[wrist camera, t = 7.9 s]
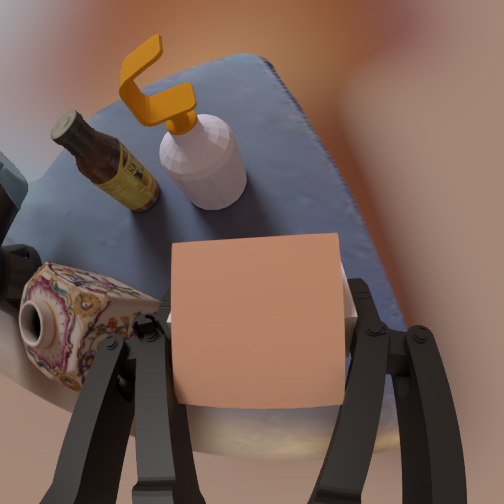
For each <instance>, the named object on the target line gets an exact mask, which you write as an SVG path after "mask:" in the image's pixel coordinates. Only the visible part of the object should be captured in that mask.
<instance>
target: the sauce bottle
mask: <svg viewBox="0 0 504 504" xmlns="http://www.w3.org/2000/svg"><path fill="white" fill-rule="evenodd" d="M51 138H52V140H53V141H55V142H56V143H57V144H59V145H62V146H63V147H64V148H66V149H67V150H68V151H69V152H70V153H71V154H72V155H73V156H75V158H76V165H77V167H78V169H79V171H80V172H81V173H82V174H83V175H84V176H85V177H87V178H89V179H90V180H91V182H92V183H94V184H95V185H96V186H98V187H99V188H100V189H102V190H103V191H105V192H106V193H107V194H109V195H110V196H112V197H113V198H114V199H116V200H117V201H119V202H120V203H121V204H123V205H124V206H126V207H127V208H129V209H132V210H133V211H137V212H142V211H146V210H147V209H149V208H150V207H152V206H153V204H154V203H155V202H156V200H157V198H158V195H159V185H158V183H157V181H156V180H155V178H154V177H153V175H151V173H150V172H149V171H148V170H147V169H146V168H145V167H144V166H143V165H142V164H141V163H140V162H139V161H138V160H137V159H136V158H135V157H134V156H133V155H132V154H131V153H130V152H129V151H128V150H127V149H126V147H125V146H124V145H123V144H122V143H121V142H120V141H119V140H118V139H117V138H114V137H112V136H109V135H106V134H103V133H101V132H98V131H95V129H93V128H91V127H90V126H89V125H88V124H87V123H86V122H85V121H84V120H83V118H82V116H81V114H79V113H78V112H77V111H76V110H70V111H68V112H66V113H65V114H63V115H62V116H61V117H60V118H59V119H58V121H57V122H56V123H55V125H54V127H53V129H52V131H51Z"/></svg>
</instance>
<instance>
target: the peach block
mask: <svg viewBox="0 0 504 504" xmlns="http://www.w3.org/2000/svg"><path fill="white" fill-rule="evenodd" d="M171 337H172V362H173V379H174V391H175V394H176V398H177V401H178V403H180V404H188V405H198V406H209V407H222V408H243V409H287V408H308V407H321V406H332V405H342V403H343V399H344V396H345V325H344V302H343V285H342V272H341V260H340V249H339V239H338V233H324V234H306V235H289V236H272V237H256V238H240V239H225V240H210V241H196V242H182V243H172V264H171Z"/></svg>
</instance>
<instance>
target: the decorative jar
mask: <svg viewBox="0 0 504 504" xmlns="http://www.w3.org/2000/svg"><path fill="white" fill-rule="evenodd" d="M161 302H162V301H160V300H158V299H155V298H153V297H151V296H149V295H147V294H144V293H142V292H140V291H138V290H136V289H134V288H132V287H130V286H127V285H125V284H123V283H121V282H119V281H117V280H115V279H113V278H111V277H108V276H104V275H100V274H96V273H93V272H89V271H84V270H81V269H76V268H72V267H67V266H63V265H59V264H54V263H51V262H50V261H47V262H46V263H45V264H43V266H41V267H39V268H38V270H37V272H36V273H34V275H33V277H32V278H31V279H30V280H29V281H28V282H27V283H26V285H25V287H24V290H23V295H22V299H21V304H20V312H19V326H20V331H21V336H22V340H23V345H24V347H25V350H26V353H27V356H28V358H29V360H30V361H31V362H32V363H33V364H34V365H35V367H36V368H37V369H38V370H39V371H40V372H42V373H43V374H44V375H45V376H47V377H48V378H49V379H51V380H53V381H55V382H57V383H60V384H63V385H64V386H66V387H69V388H71V389H73V390H75V391H79V392H81V389H82V387H83V384H84V382H85V379H86V377H87V374H88V372H89V369H90V367H91V365H92V362H93V360H94V357H95V355H96V353H97V351H98V348H99V346H100V344H101V342H102V341H103V339H104V338H106V337H107V336H109V335H111V334H118V335H120V336H122V337H123V339H124V340H128V339H133V338H137V336H136V334H135V332H134V330H133V329H132V327H131V325H132V322H133V321H134V319H135V318H137V317H138V316H140V315H142V314H145V313H152V314H155V315H156V313H157V311H158V309H159V308H160V304H161Z"/></svg>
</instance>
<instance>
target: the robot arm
mask: <svg viewBox="0 0 504 504" xmlns="http://www.w3.org/2000/svg"><path fill="white" fill-rule="evenodd" d="M27 192H28V183H27V181H26V179H25V177H24V176H23V175H22V174H21V172H20V171H19V170H18V169H17V168H16V167H15V165H14V164H13V163H12V162H11V161H10V160H9V159H8V158H7V157H6V156H5V155H4V154H3V153H2V152H1V151H0V310H2V311H4V312H5V313H7V314H9V315H11V316H13V317H15V318H19V312H20V304H21V299H22V295H23V290H24V287H25V285H26V283H27V282H28V281H29V280H30V279H31V278H32V277H33V275H34V273H36V272H37V270H38V268H39V267H41V266H42V265H41V260H40V257H39V255H38V253H37V251H36V250H35V249H34V248H33V247H30V246H27V245H24V244H17V245H8V246H1V245H2V243H3V241H4V239H5V236H6V234H7V232H8V230H9V228H10V226H11V224H12V222H13V220H14V218H15V216H16V215H17V213H18V211H19V210H20V208H21V204H22V202H23V200H24V198H25V197H26V195H27ZM341 272H342V285H343V302H344V325H345V357H349V353H351V358H352V359H351V362H350V366H349V370H348V376H347V381H346V385H345V396H344V399H343V403H342V405H341V406H340V409H339V413H338V417H337V421H336V424H335V428H334V431H333V434H332V438H331V441H330V444H329V447H328V450H327V453H326V457H325V459H324V462H323V465H322V468H321V471H320V474H319V476H318V479H317V482H316V484H315V487H314V490H313V492H312V494H311V497H310V499H309V501H308V503H307V504H361V493H362V489H363V486H364V483H365V479H366V476H367V472H368V469H369V465H370V461H371V457H372V453H373V448H374V444H375V439H376V434H377V429H378V424H379V418H380V413H381V406H382V400H383V393H384V385H385V376H386V374H391V377H392V382H393V388H394V395H395V402H396V409H397V417H398V425H399V435H400V447H401V461H402V490H403V491H402V492H403V493H402V494H403V495H402V499H403V500H402V504H467V490H466V475H465V465H464V457H463V449H462V443H461V438H460V431H459V426H458V421H457V416H456V411H455V407H454V403H453V399H452V395H451V391H450V387H449V383H448V380H447V376H446V373H445V369H444V366H443V363H442V360H441V357H440V354H439V351H438V348H437V345H436V342H435V339H434V336H433V334H432V332H431V331H430V330H429V329H428V328H426V327H424V326H421V325H415V326H412V327H410V328H409V329H408V331H407V332H401V331H395V330H391V329H389V328H388V327H387V325H386V324H385V323H383V322H382V321H381V320H380V318H379V315H378V312H377V309H376V307H375V304H374V301H373V299H372V296H371V293H370V290H369V288H368V285H367V284H366V283H365V282H364V281H363V280H362V279H361V278H356V279H346V276H345V273H344V270H343V266H342V263H341ZM131 327H132V329H133V330H134V332H135V334H136V336H137V338H133V339H128V340H124V339H123V337H122V336H120V335H118V334H111V335H109V336H107V337H106V338H104V339H103V341H102V342H101V344H100V346H99V348H98V351H97V353H96V355H95V357H94V360H93V362H92V365H91V367H90V369H89V372H88V374H87V377H86V379H85V382H84V384H83V387H82V389H81V392H80V395H79V397H78V400H77V403H76V405H75V408H74V411H73V414H72V417H71V420H70V423H69V426H68V429H67V432H66V435H65V439H64V442H63V445H62V449H61V452H60V455H59V459H58V463H57V467H56V470H55V474H54V479H53V483H52V485H51V486H50V488H49V489H48V491H47V493H46V494H45V496H44V497H43V499H42V500H41V502H40V504H116V499H117V494H118V488H119V482H120V477H121V471H122V466H123V461H124V457H125V451H126V447H127V443H128V438H129V434H130V430H131V425H132V421H133V417H134V413H135V440H136V460H137V474H138V482H137V484H136V485H135V486H133V489H132V501H133V504H206V502H205V500H204V498H203V496H202V495H201V492H200V490H199V485H198V481H197V475H196V470H195V465H194V459H193V453H192V447H191V441H190V434H189V427H188V420H187V412H186V404H180V403H178V401H177V398H176V394H175V391H174V379H173V362H172V337H171V289H170V290H169V291H168V292H167V293H166V294H165V296H164V298H163V300H162V302H161V304H160V308H159V309H158V311H157V313H156V315H155V314H152V313H145V314H142V315H140V316H138V317H137V318H135V319H134V321H133V322H132V325H131Z"/></svg>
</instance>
